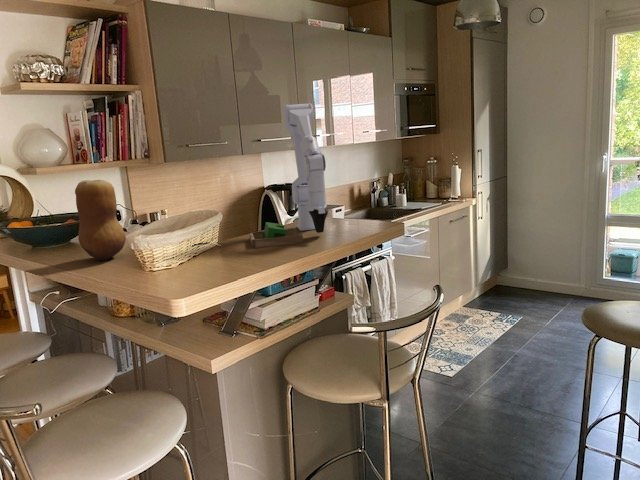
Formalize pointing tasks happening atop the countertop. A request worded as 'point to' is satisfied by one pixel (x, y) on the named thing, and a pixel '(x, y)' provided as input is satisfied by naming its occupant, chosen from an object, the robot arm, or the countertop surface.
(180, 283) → the countertop surface
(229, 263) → the countertop surface
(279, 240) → the tray
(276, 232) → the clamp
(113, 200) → the butternut squash
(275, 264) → the countertop surface
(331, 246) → the countertop surface
